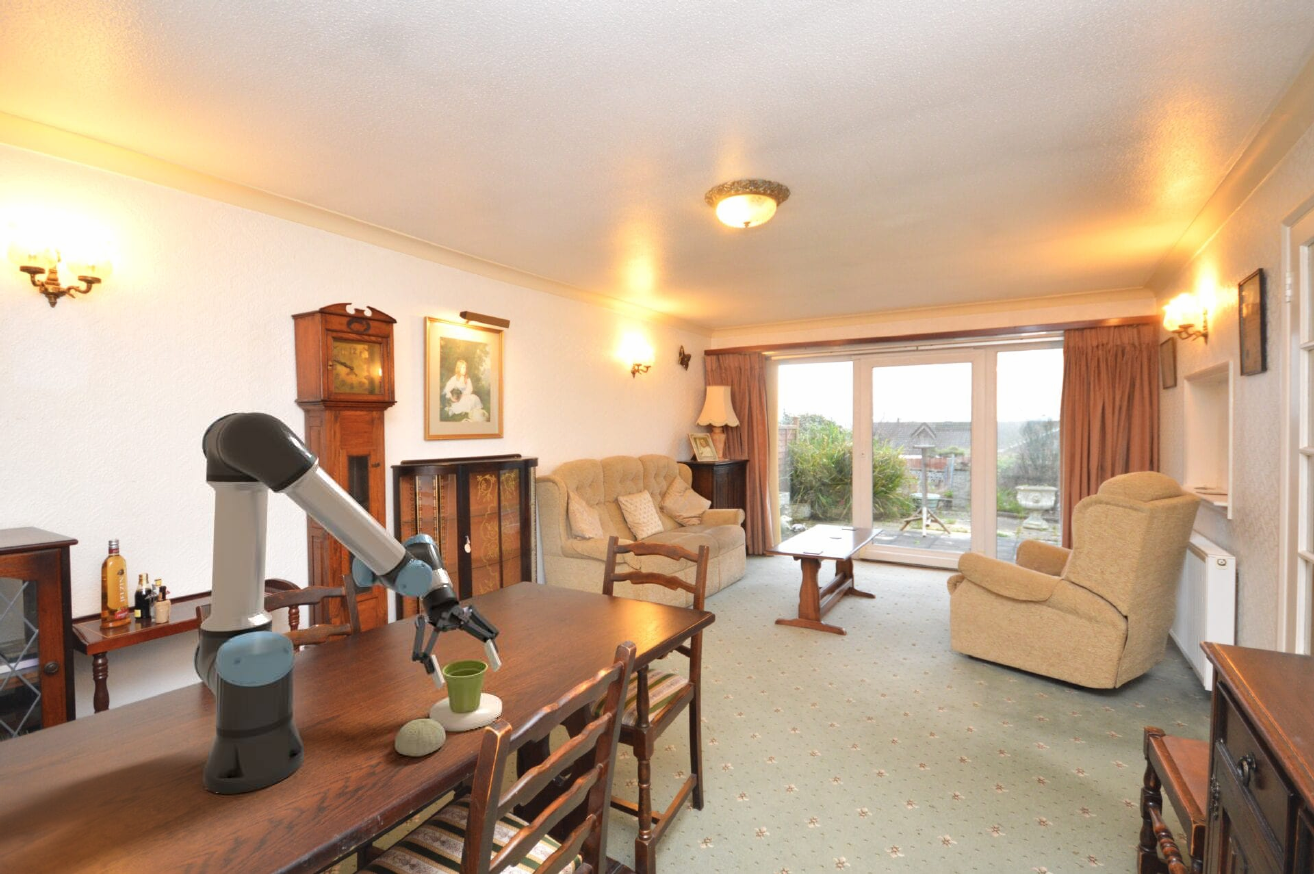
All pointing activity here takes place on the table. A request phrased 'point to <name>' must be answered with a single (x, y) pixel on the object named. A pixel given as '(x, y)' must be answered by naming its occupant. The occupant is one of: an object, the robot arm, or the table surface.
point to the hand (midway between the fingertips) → (470, 676)
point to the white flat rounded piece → (467, 714)
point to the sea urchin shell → (420, 737)
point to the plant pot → (464, 684)
